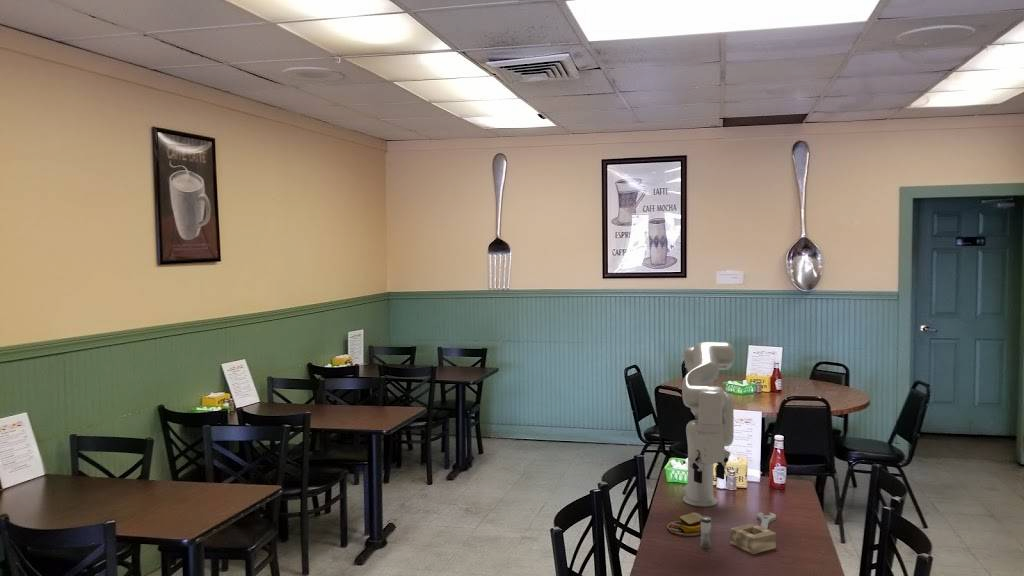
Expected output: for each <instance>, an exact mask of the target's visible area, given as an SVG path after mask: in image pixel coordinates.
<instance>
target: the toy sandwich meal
mask: <svg viewBox="0 0 1024 576" xmlns="http://www.w3.org/2000/svg"><path fill="white" fill-rule="evenodd" d="M702 516H703V515H702V514H700V513H698V512H691V513H687V514H684V515H680V516H679V517H678V518H679V520H676V521H672V522H670V523H668V524H667V525H666V527H667V529H668V531H670V532H671V533H672V534H674V533H675V534H674V535H677V534H678V536H681V535H683V536H682V537H697V536H701V517H702Z"/></svg>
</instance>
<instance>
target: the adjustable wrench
mask: <svg viewBox="0 0 1024 576" xmlns="http://www.w3.org/2000/svg"><path fill="white" fill-rule="evenodd" d="M768 514H769V515H767V514H764V513H763V512H757V515H756V516H755V519H756V520H759V521H760V522H761V524H760V525H759V526H760V527H763V528H765V529H767V530H769V529H768V528H769V524H770V523H772V522H774V521H776V520H777V515H776V514H775V513H772V512H768Z"/></svg>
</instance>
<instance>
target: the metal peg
mask: <svg viewBox="0 0 1024 576" xmlns="http://www.w3.org/2000/svg"><path fill="white" fill-rule="evenodd" d="M711 534H712V517H710V516H706V515H702V517H701V534H700V548H702V549H710V548H711V545H712V544H711V541H712V539H711V538H712V535H711Z"/></svg>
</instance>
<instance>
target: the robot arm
mask: <svg viewBox="0 0 1024 576" xmlns="http://www.w3.org/2000/svg"><path fill="white" fill-rule="evenodd" d="M735 357H736V356H735V349H734V347H733V345H732V344H731V343H729V342H727V341H726V342H725V341H702V342H698V343H696V344H695V345H694V346H690V347H686V349H684V352H683V360H684V365H685V369H686V370H687V373H686V375H685V376H684V378H683V380H682V383H681V390H682V391H681V394H682V401H683V405H684V406H685V407H687V408H690V412H691V413H692V414H693V415H694V416H696V417H697V416H698V417H697V419H693V420H690V421H689V422H688V423H687V424H686V427H685V433H686V440H687V484H685V485H684V486H683V487H682V489H681V491H683V492H685V495H684V496H683V497H682V499H683V502H684V503H686V504H687V505H690V506H695V507H713V506H715V505H717V503H718V499H717V498H716V497H715V496H714V464H717V465H716V466H715V477H716V478H717V479H720V480H724V479H725V468H726V467H727V463H728V461H729V458H730V455H731V452H730V451H728V450H727V449H726V447H729V446H731V445H732V444H733V442H734V436H735V435H734V401H733V397H732V395H731V394H730V393H728V392H726V391H725V389H724V388H723V387H722V386H717V385H715V386H714V381H715V380H716V379H717V378H718V376H719V375H720V374H719V373H720V371H721V370H723V371H727V370H730V368H732V366H733V364H734V362H735Z"/></svg>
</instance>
